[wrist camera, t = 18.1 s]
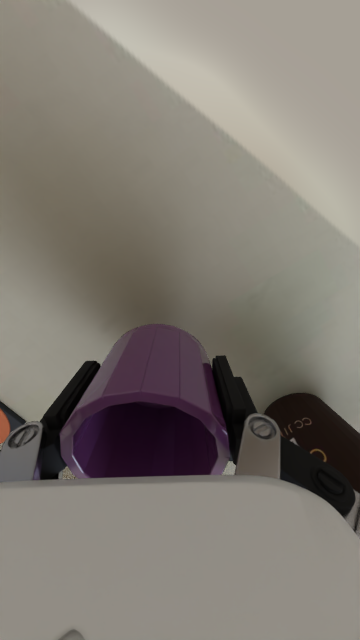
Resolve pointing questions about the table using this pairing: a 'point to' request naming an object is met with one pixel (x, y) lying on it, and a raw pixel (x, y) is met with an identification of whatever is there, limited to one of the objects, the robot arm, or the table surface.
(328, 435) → the coffee mug
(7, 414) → the placemat
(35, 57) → the table surface
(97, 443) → the cup
